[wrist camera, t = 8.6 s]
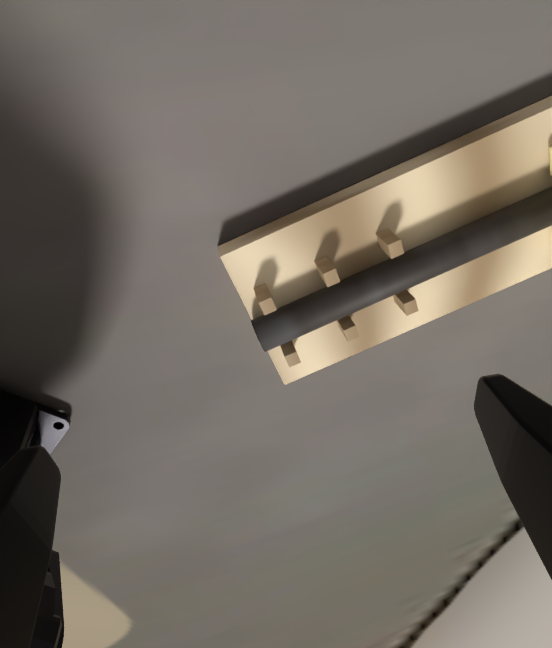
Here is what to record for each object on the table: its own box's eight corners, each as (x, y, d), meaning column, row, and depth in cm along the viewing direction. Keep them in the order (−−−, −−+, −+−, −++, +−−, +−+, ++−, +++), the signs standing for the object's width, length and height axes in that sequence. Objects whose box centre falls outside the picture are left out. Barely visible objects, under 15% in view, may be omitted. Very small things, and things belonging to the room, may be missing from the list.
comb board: (280, 371, 26) (299, 427, 22) (217, 246, 21) (228, 290, 18) (661, 203, 25) (747, 232, 21) (677, 38, 20) (789, 38, 17)
